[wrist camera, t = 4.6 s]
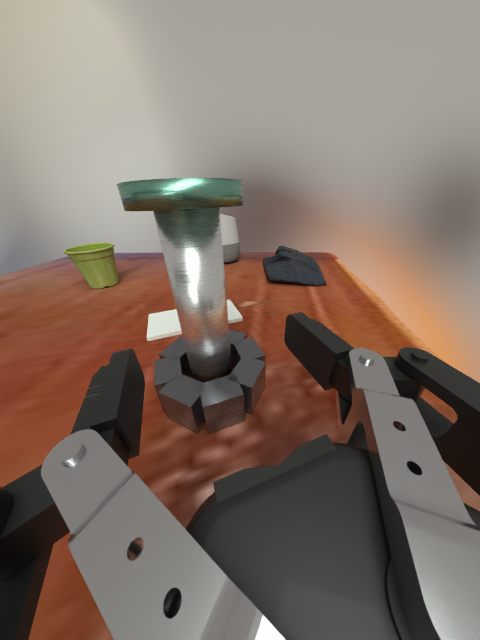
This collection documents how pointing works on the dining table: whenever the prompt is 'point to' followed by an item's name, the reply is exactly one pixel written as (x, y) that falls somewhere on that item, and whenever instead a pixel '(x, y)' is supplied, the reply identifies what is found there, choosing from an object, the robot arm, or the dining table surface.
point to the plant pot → (95, 263)
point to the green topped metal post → (193, 260)
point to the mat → (170, 326)
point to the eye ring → (210, 386)
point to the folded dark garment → (293, 268)
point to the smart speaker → (229, 239)
